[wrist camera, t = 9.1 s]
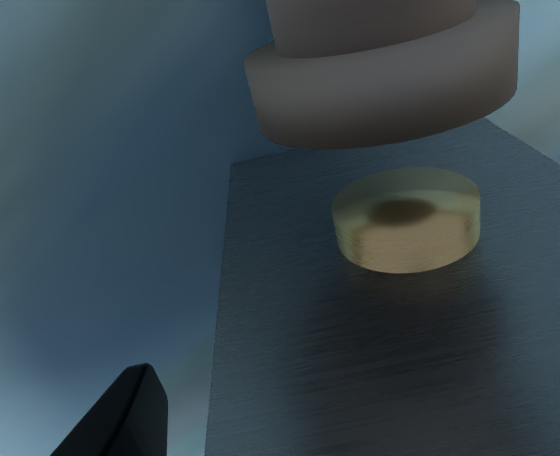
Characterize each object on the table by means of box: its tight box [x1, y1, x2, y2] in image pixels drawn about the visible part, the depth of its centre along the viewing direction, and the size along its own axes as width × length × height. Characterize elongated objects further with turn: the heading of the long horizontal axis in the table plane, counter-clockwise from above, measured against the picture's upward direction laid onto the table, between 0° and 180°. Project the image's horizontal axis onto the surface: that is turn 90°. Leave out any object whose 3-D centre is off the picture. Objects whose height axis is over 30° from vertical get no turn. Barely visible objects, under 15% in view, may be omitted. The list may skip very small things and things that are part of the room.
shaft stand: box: [243, 0, 520, 150], centre depth 9 cm, size 22×5×5 cm, turn 13°
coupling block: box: [205, 117, 560, 456], centre depth 7 cm, size 6×5×8 cm
